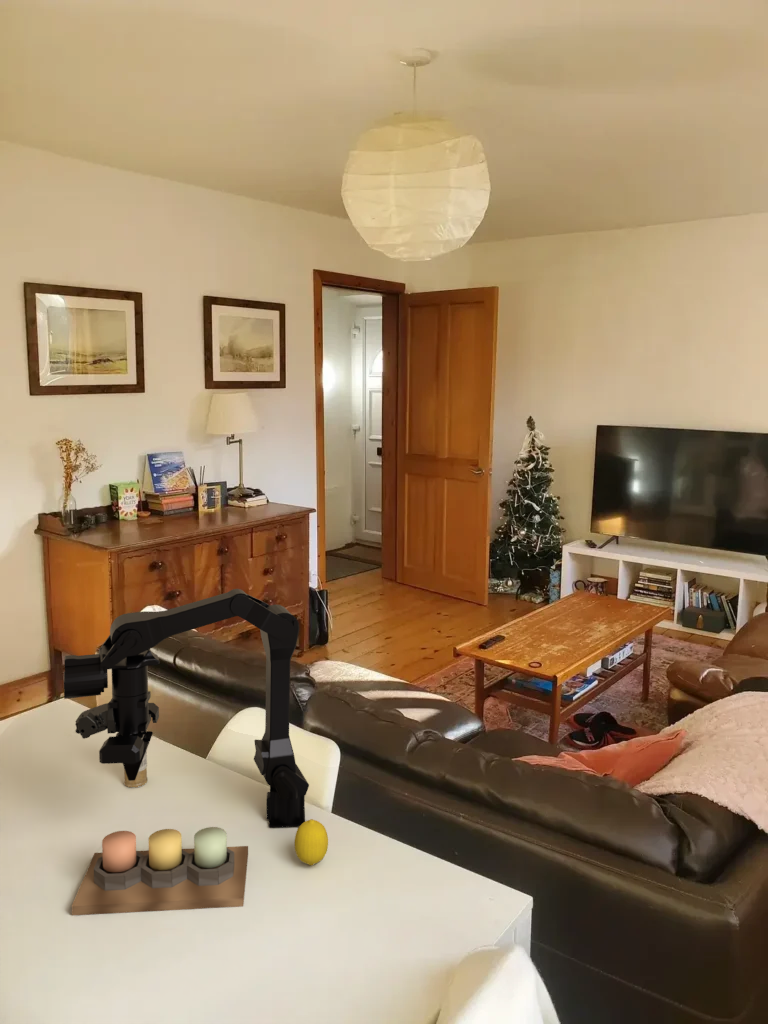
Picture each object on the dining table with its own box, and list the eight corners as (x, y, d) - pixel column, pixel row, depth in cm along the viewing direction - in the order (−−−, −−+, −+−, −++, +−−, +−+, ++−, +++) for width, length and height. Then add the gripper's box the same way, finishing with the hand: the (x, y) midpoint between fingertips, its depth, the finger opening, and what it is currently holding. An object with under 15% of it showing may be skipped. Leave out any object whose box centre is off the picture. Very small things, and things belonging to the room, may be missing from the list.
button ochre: (183, 851, 128) (183, 828, 127) (179, 869, 123) (179, 845, 122) (152, 852, 127) (151, 829, 126) (146, 871, 122) (145, 846, 122)
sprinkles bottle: (142, 775, 161) (140, 712, 159) (151, 784, 157) (150, 719, 155) (120, 782, 158) (118, 717, 156) (128, 791, 154) (127, 725, 152)
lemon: (322, 876, 128) (323, 830, 127) (289, 872, 129) (290, 826, 128) (331, 858, 133) (332, 813, 132) (300, 853, 134) (300, 809, 133)
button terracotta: (139, 853, 127) (138, 830, 126) (133, 871, 122) (132, 847, 121) (106, 854, 126) (106, 831, 126) (99, 873, 121) (98, 848, 121)
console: (248, 854, 134) (248, 833, 133) (243, 906, 120) (243, 883, 119) (94, 861, 131) (94, 839, 130) (71, 915, 117) (71, 891, 116)
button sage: (227, 849, 128) (227, 826, 128) (225, 867, 124) (225, 843, 123) (196, 850, 128) (196, 827, 127) (192, 868, 123) (192, 844, 122)
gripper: (94, 672, 140) (96, 756, 142) (63, 713, 122) (66, 809, 124) (158, 671, 141) (160, 754, 143) (138, 712, 123) (140, 806, 125)
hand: (132, 779), depth 134 cm, fingers closed
